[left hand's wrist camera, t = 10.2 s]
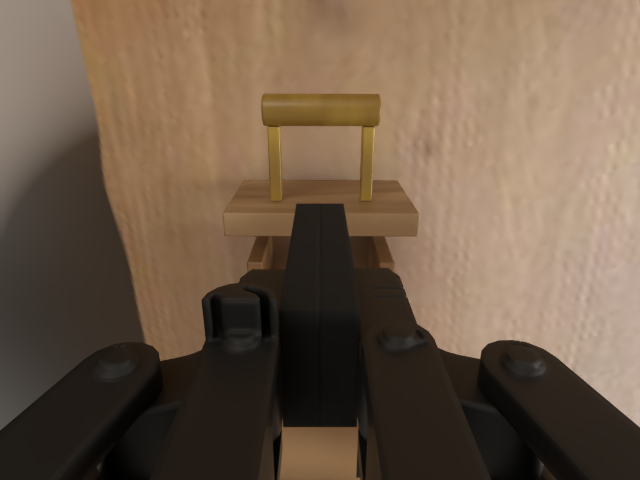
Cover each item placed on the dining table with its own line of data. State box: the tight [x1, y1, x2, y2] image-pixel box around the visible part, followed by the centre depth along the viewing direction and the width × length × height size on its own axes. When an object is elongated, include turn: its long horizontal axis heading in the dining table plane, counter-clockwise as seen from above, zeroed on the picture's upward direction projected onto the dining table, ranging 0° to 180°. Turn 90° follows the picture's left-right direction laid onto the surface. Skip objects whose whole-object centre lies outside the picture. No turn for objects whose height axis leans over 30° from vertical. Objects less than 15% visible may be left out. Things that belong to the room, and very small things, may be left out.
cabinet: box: [280, 419, 360, 480], centre depth 31 cm, size 18×11×9 cm, turn 0°
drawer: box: [223, 94, 419, 272], centre depth 27 cm, size 22×10×7 cm, turn 0°
